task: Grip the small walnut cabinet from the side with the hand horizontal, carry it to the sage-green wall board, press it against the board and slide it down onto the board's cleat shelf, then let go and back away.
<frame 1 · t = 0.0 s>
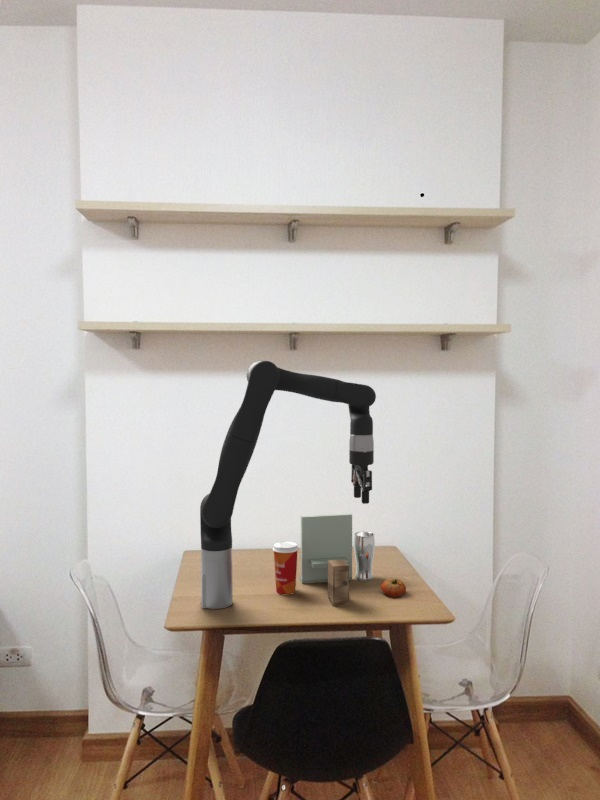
hand: (361, 500, 197), 29 cm above the table, tool pointing down, fingers open, 8 cm apart
wall board: (326, 580, 209), on the table
cabinet: (338, 601, 191), on the table
beer glass: (364, 578, 212), on the table
tomato: (393, 594, 197), on the table
coffee cup: (285, 592, 200), on the table
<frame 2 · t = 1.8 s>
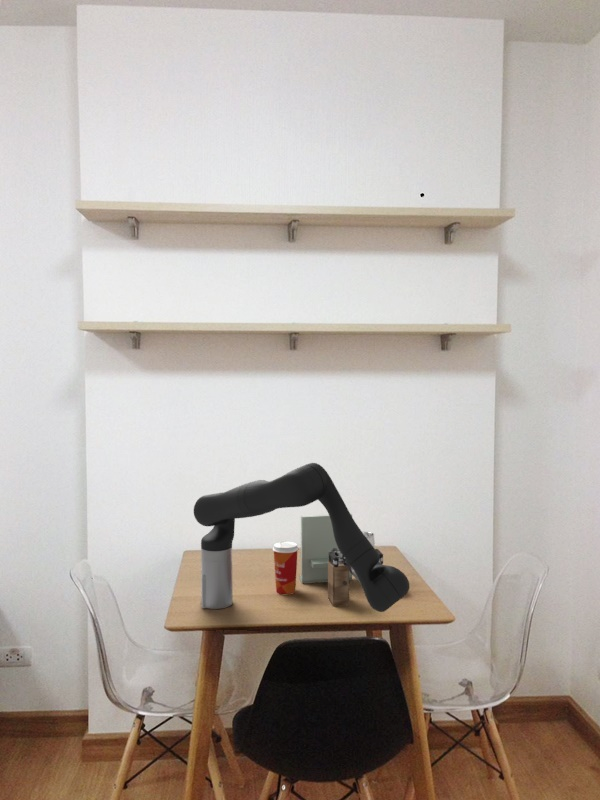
hand: (348, 550, 179), 19 cm above the table, tool horizontal, fingers open, 8 cm apart
nothing on the table moved.
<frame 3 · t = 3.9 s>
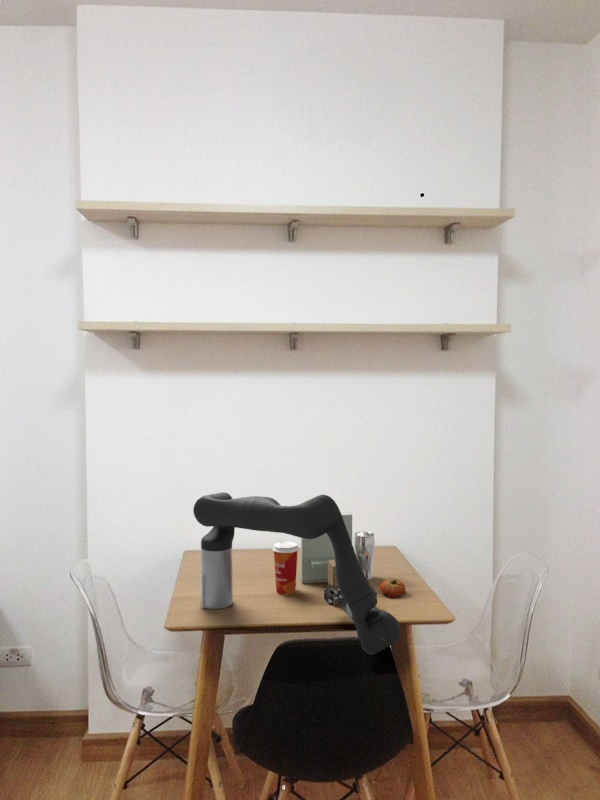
hand: (343, 586, 184), 7 cm above the table, tool horizontal, fingers open, 8 cm apart
nothing on the table moved.
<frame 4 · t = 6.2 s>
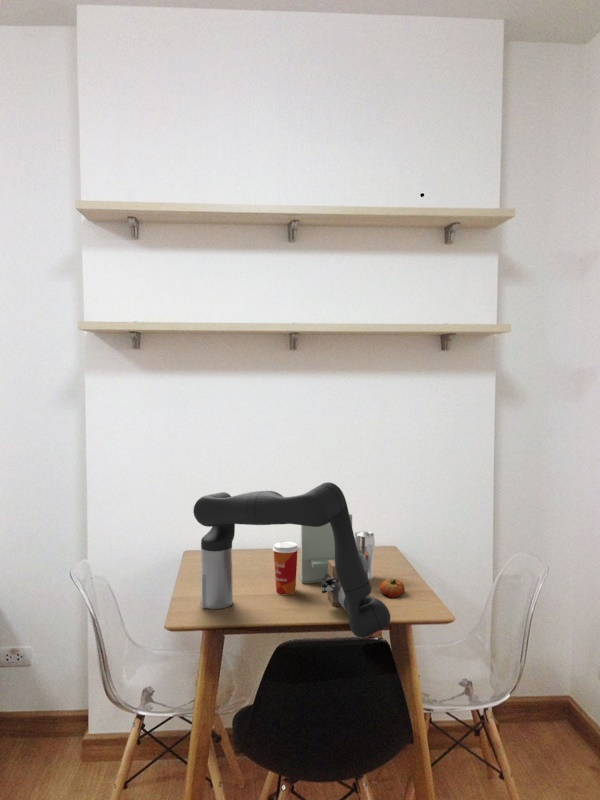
hand: (335, 576, 193), 7 cm above the table, tool horizontal, fingers closed on cabinet, 5 cm apart
cabinet: (338, 601, 191), on the table, touching gripper
everything else where it was.
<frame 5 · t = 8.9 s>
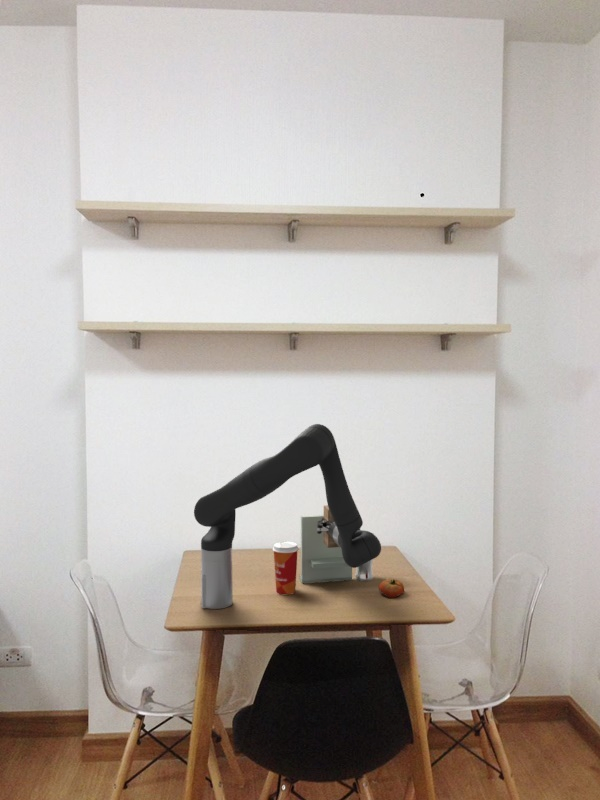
hand: (331, 520, 202), 22 cm above the table, tool horizontal, fingers closed on cabinet, 5 cm apart
cabinet: (333, 544, 200), point 15 cm above the table, touching gripper
everything else where it was.
when the fingers open (16 cm above the table, at t = 12.0 s): cabinet stays where it is, resting on wall board.
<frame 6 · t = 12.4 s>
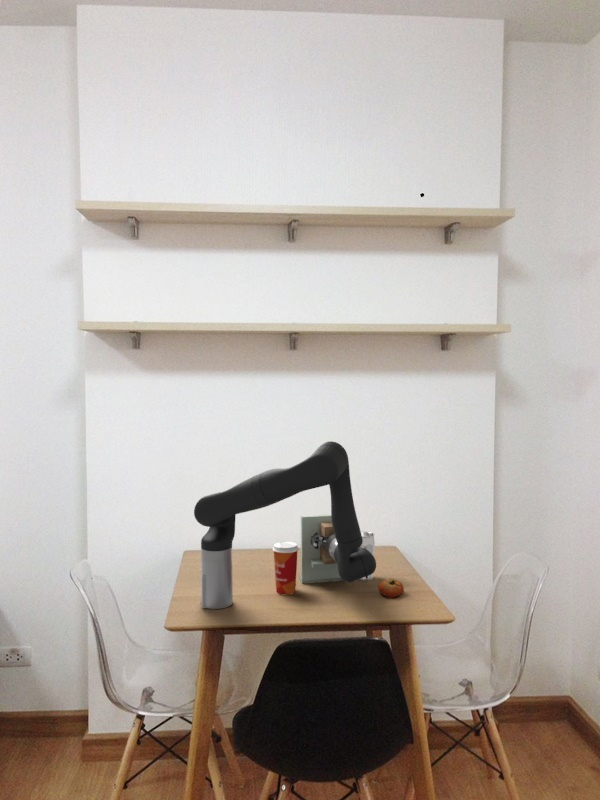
hand: (328, 535, 206), 16 cm above the table, tool horizontal, fingers open, 8 cm apart
cabinet: (329, 561, 205), point 8 cm above the table, touching wall board
everything else where it was.
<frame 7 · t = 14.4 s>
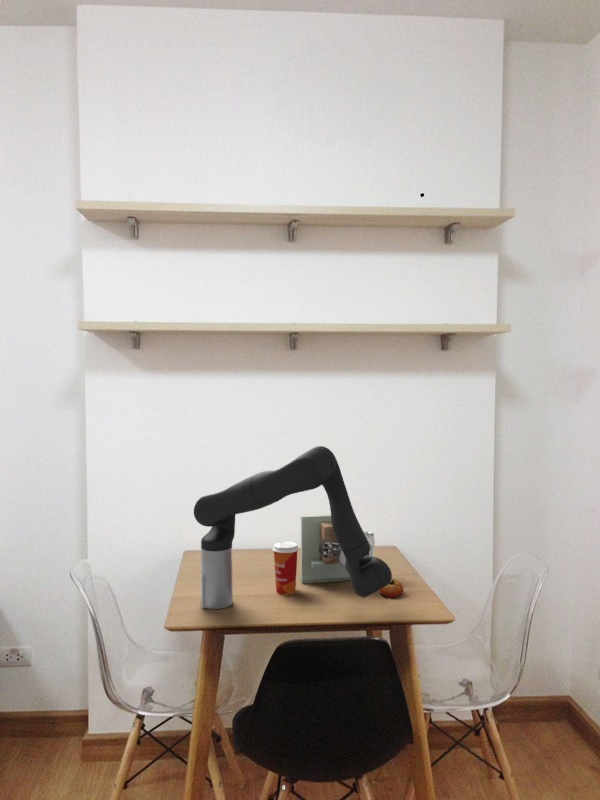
hand: (337, 542, 193), 18 cm above the table, tool horizontal, fingers open, 8 cm apart
nothing on the table moved.
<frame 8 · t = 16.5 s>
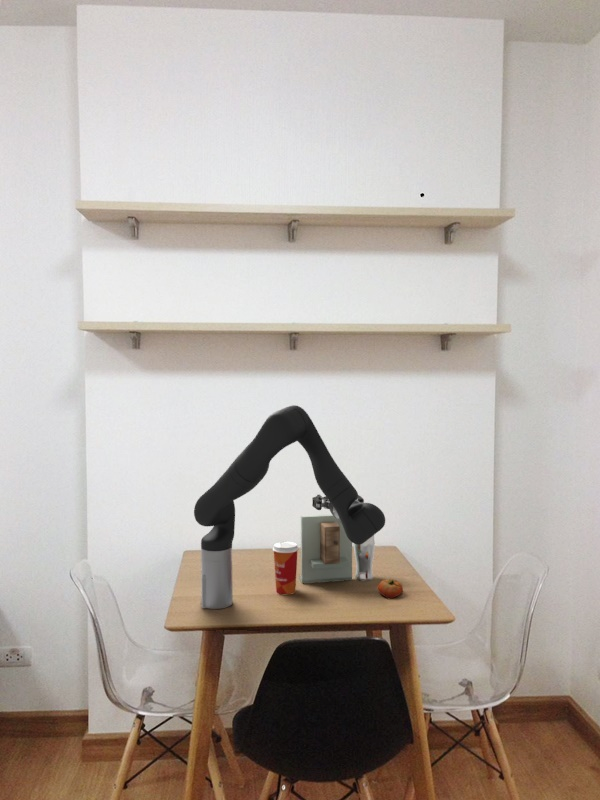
hand: (332, 497, 188), 32 cm above the table, tool horizontal, fingers open, 8 cm apart
at the end: cabinet inside the target area (0.4 cm from its centre), point 8.0 cm above the table; cabinet tilted 0°; the gripper is holding nothing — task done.
